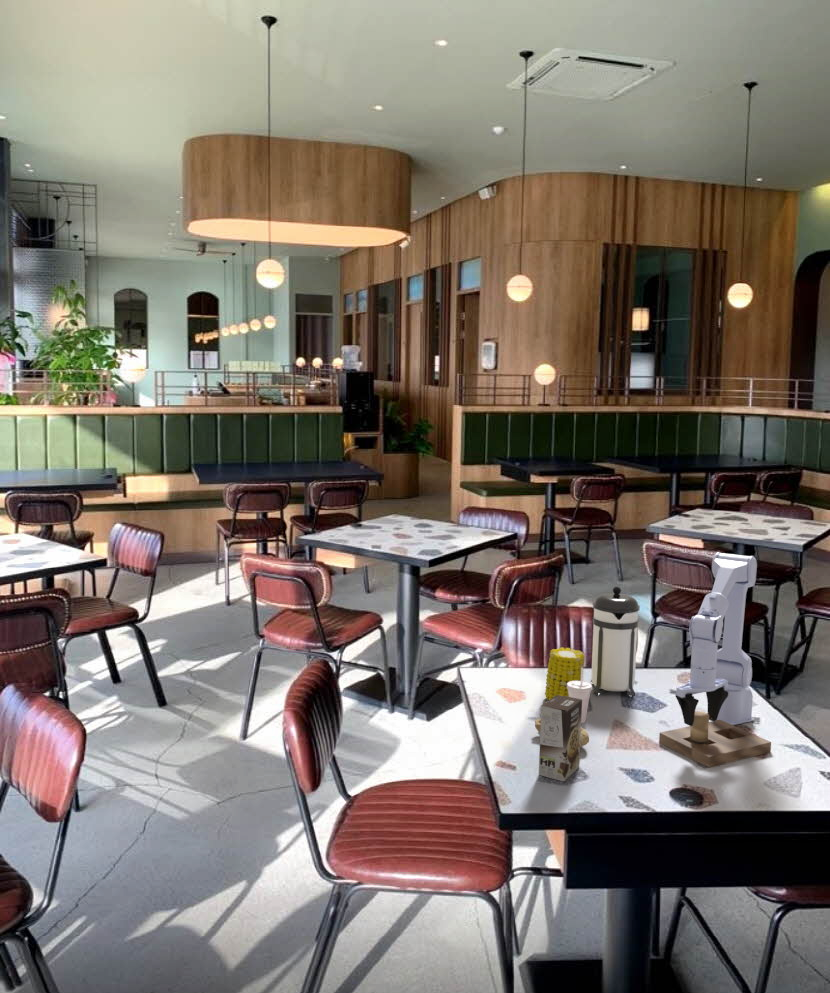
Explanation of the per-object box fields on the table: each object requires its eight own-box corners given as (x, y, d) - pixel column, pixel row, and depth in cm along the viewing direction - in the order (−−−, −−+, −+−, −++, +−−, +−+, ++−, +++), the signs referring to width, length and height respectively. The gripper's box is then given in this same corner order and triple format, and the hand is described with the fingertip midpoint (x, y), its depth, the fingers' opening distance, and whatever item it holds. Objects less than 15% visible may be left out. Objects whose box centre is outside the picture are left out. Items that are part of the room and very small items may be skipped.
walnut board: (719, 729, 230) (719, 719, 230) (770, 752, 216) (771, 742, 216) (659, 742, 221) (659, 732, 220) (708, 767, 207) (709, 756, 206)
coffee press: (653, 692, 257) (658, 588, 253) (613, 703, 248) (618, 595, 244) (608, 675, 271) (612, 576, 267) (568, 685, 262) (572, 582, 258)
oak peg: (698, 746, 219) (700, 710, 218) (710, 752, 215) (712, 715, 214) (685, 749, 217) (687, 712, 216) (697, 755, 214) (700, 718, 212)
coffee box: (564, 782, 198) (567, 710, 196) (537, 775, 201) (539, 704, 199) (580, 767, 205) (583, 698, 203) (554, 761, 209) (556, 693, 207)
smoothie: (590, 726, 230) (592, 672, 229) (564, 724, 232) (566, 670, 230) (590, 717, 237) (592, 665, 235) (565, 715, 238) (567, 663, 236)
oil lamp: (536, 731, 227) (537, 712, 226) (594, 740, 222) (594, 720, 221) (525, 747, 217) (526, 726, 216) (586, 756, 212) (586, 736, 211)
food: (561, 697, 256) (585, 710, 248) (530, 695, 250) (554, 708, 241) (574, 645, 255) (599, 656, 247) (543, 641, 249) (568, 652, 241)
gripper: (713, 657, 220) (710, 711, 222) (668, 665, 214) (665, 720, 215) (736, 665, 214) (732, 721, 216) (690, 674, 207) (686, 731, 209)
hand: (700, 721), depth 215 cm, fingers open, 7 cm apart
